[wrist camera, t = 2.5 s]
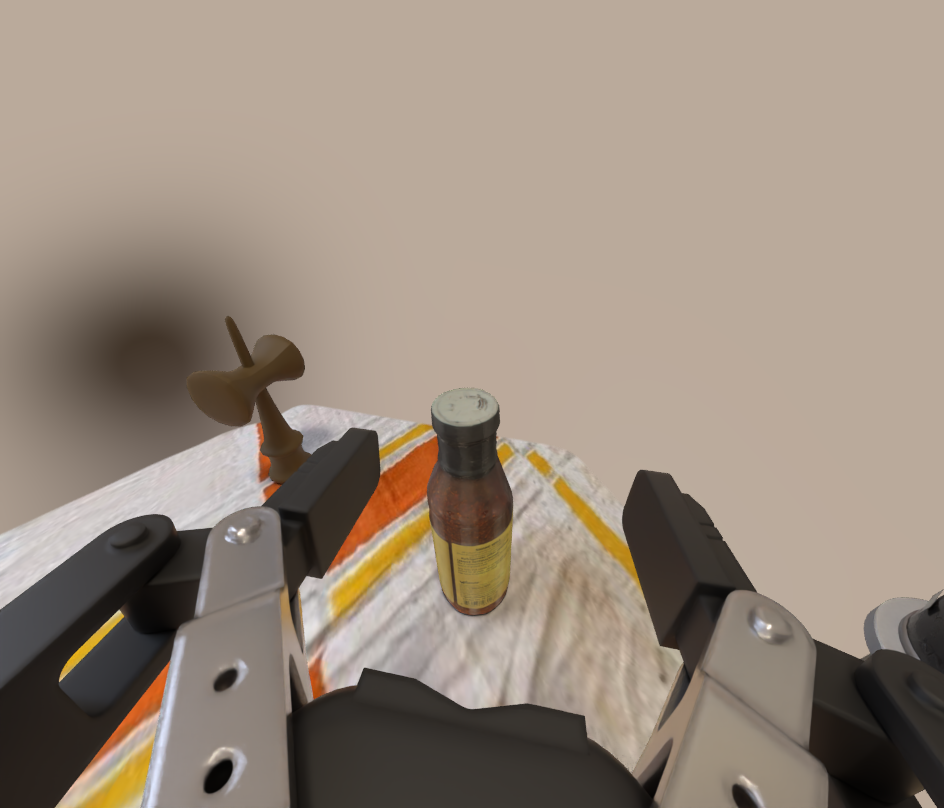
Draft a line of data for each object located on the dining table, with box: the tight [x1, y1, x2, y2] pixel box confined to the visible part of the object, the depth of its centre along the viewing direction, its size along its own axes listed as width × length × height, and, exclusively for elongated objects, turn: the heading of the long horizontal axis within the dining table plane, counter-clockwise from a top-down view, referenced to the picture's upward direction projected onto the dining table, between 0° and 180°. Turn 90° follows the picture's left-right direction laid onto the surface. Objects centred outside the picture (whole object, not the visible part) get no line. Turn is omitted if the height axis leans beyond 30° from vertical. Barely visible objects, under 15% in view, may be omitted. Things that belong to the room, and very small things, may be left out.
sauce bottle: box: [427, 388, 513, 615], centre depth 25 cm, size 7×6×20 cm
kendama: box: [187, 316, 311, 483], centre depth 36 cm, size 6×10×20 cm, turn 168°
